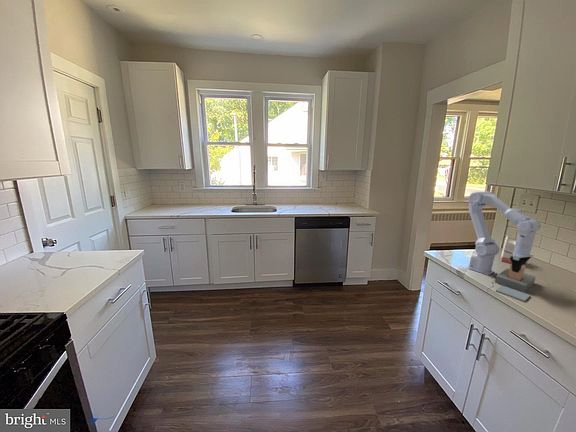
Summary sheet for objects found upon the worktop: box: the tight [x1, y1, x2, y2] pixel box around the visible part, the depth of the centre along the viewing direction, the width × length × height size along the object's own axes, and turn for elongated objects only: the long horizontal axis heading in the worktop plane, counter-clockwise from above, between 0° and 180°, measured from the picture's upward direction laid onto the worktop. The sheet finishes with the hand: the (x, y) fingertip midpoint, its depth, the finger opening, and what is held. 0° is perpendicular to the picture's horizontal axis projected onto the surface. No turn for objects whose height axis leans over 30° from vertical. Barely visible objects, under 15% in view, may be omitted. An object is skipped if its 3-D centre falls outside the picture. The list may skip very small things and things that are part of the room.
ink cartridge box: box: [500, 235, 516, 264], centre depth 146 cm, size 9×5×15 cm, turn 141°
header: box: [494, 268, 536, 293], centre depth 121 cm, size 11×16×4 cm
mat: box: [495, 285, 531, 302], centre depth 111 cm, size 10×8×1 cm
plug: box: [508, 263, 527, 281], centre depth 118 cm, size 4×4×8 cm
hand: (516, 270), depth 118 cm, fingers closed on plug, 4 cm apart
